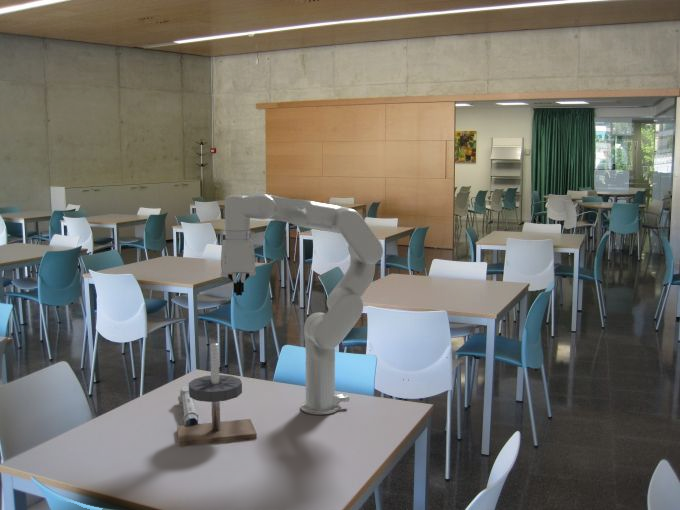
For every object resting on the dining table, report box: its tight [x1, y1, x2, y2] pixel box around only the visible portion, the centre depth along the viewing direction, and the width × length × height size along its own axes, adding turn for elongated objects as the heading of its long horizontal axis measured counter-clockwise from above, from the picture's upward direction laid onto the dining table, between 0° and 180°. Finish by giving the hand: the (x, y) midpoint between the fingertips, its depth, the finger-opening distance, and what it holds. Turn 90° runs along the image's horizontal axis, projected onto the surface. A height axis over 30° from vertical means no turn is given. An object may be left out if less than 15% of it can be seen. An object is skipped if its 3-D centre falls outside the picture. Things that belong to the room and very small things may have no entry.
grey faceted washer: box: [188, 374, 243, 403], centre depth 206 cm, size 15×15×3 cm
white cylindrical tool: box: [177, 385, 199, 425], centre depth 224 cm, size 5×7×25 cm
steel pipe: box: [209, 342, 221, 431], centre depth 206 cm, size 3×3×26 cm
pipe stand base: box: [176, 418, 258, 448], centre depth 208 cm, size 22×12×2 cm, turn 106°
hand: (238, 294), depth 217 cm, fingers closed
